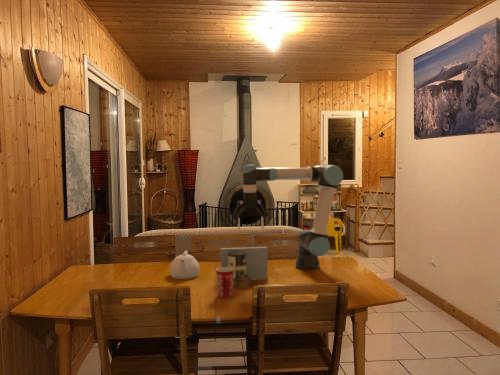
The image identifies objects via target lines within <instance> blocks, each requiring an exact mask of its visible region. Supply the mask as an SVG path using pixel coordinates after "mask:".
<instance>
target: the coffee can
mask: <svg viewBox="0 0 500 375" xmlns="http://www.w3.org/2000/svg"><path fill="white" fill-rule="evenodd" d="M246 254H247V253H246V252H244V251H231V252H228V267H229V268H233V269H234V277H233V278H246Z"/></svg>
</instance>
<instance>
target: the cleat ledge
mask: <svg viewBox="0 0 500 375" xmlns="http://www.w3.org/2000/svg"><path fill="white" fill-rule="evenodd" d="M252 282H253V280H252V278H249V276H248V275H246V278H233V289H248V288H249V289H250V288H253V287H252V286H253V283H252Z"/></svg>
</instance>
